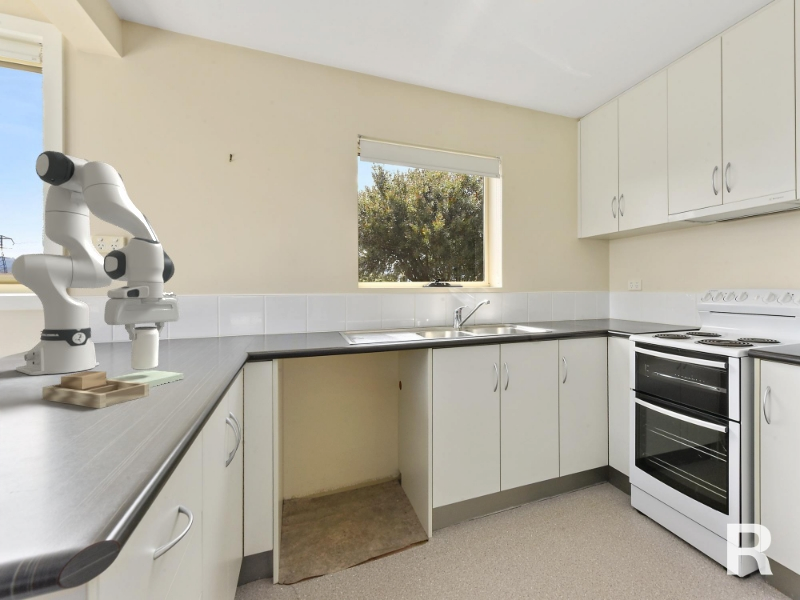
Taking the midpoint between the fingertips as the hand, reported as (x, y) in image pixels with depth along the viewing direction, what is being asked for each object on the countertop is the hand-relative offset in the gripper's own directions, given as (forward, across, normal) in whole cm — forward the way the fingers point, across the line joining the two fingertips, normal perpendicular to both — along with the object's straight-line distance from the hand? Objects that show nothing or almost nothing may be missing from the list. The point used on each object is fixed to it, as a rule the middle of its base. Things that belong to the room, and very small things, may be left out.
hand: (145, 338), depth 103 cm
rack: (+13, +15, +4) cm, 20 cm away
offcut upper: (+11, +15, -1) cm, 19 cm away
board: (+13, 0, 0) cm, 13 cm away
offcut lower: (+14, +15, -1) cm, 20 cm away
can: (+9, 0, 0) cm, 9 cm away
